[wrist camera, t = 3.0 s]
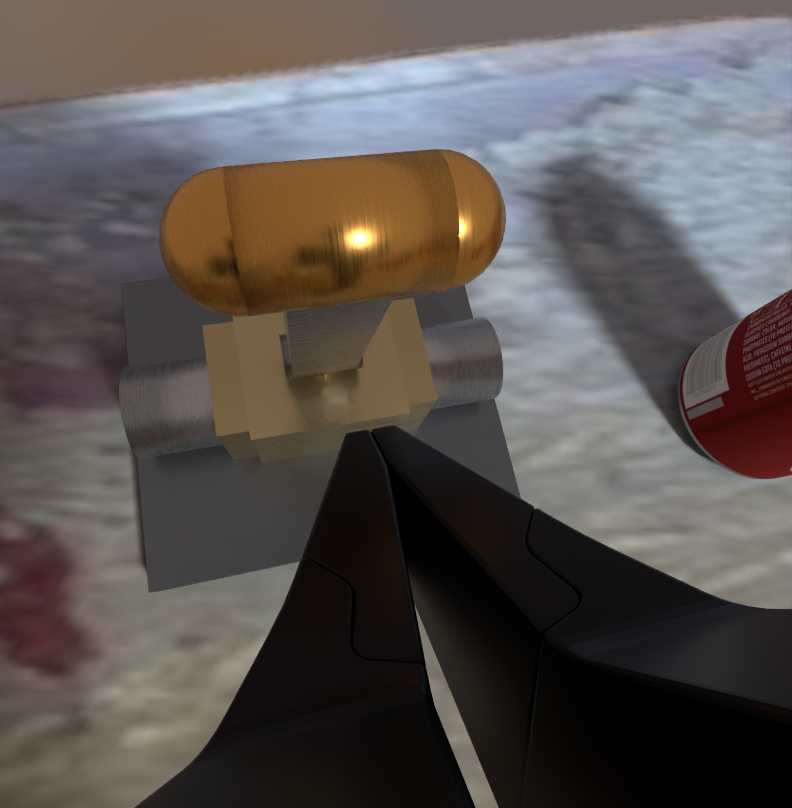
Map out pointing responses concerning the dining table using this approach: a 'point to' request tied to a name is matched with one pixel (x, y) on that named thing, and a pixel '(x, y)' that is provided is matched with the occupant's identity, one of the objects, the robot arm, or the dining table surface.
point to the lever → (331, 243)
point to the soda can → (743, 393)
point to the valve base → (269, 496)
